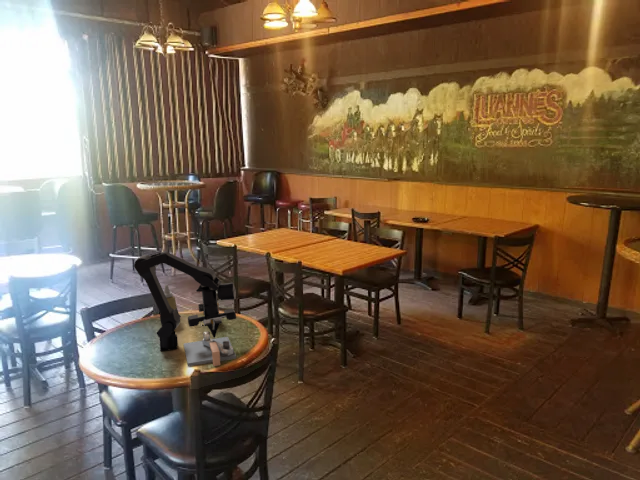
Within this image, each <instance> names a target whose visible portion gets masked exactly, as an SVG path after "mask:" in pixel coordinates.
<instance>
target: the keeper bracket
mask: <svg viewBox="0 0 640 480" xmlns="http://www.w3.org/2000/svg"><path fill="white" fill-rule="evenodd" d="M209 344H210V348H211V351H212V358H213V362H212V365H213V367H215V366H221V361H220V352H219V349H218V346H217V343H216V342H212V343H209Z"/></svg>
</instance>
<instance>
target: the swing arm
mask: <svg viewBox="0 0 640 480" xmlns="http://www.w3.org/2000/svg"><path fill="white" fill-rule="evenodd" d="M202 336H203V339H201V341H202V344H203V345H206V346H208V347H210V344H209V343H212V342H216V341H214V340H211V339H212V338H211V331H210V330H209V331H203V333H202ZM229 341H230V340H229ZM229 341H224V342H223V344H221V343H218V342H216V343H217V346H218V349H219V352H220V353H221V355H231V354H233V350H234V347H233V345H232V346H230V345H229Z"/></svg>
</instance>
